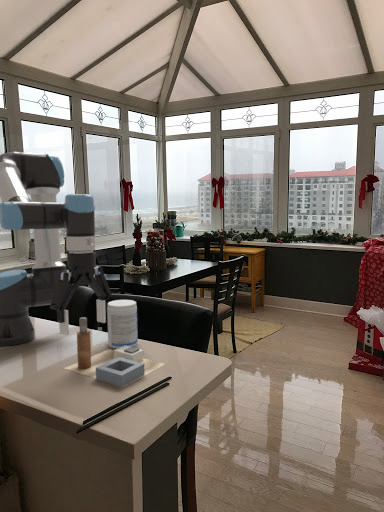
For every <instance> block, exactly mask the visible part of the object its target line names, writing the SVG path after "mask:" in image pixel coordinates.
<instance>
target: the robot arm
mask: <svg viewBox="0 0 384 512" xmlns="http://www.w3.org/2000/svg"><path fill="white" fill-rule="evenodd" d="M64 184H65V170H64V165H63V163H62V160H61V159H60V157H59V156H58V155H56V154H50V153H47V152H43V153H41V152H24V151H23V152H22V151H8V152H4V153H2V154H0V200H1V203H0V227H1V229H3V230H8V231H9V230H10V231H11V230H12V231H21V230H22V231H23V230H33V243H34V254H35V255H34V256H35V264H34V265H33V266H32V267H31V273H28V272H27V270H25V269H11V270H7V271H6V270H5V271H3V272H0V347H5V346H16V345H21V344H25V343H27V342H30V341H32V340H33V339H34V338H35V337H36V332H35V328H34V325H33V323H32V321H31V318H30V316H29V308H33V307H34V308H35V307H41V306H49V309H50V310H55V311H56V316H57V317H56V318H57V319H56V321H57V323H58V324H59V334H60V335H65V336H68V335H70V329H69V328H70V327H69V326H70V325H69V324H70V323H69V309H67V307H68V305H69V303H70V302H71V300H72V298H73V296H74V294H75V293H76V290H78V289H79V288H80V287H83V286H89V287H90V289H91V290H92V291H93V293H94V294H95V295H96V296H97V298H98V299H96V321H97V323H101V324H105V323H106V322H107V320H106V319H107V317H106V316H107V315H106V314H107V312H106V311H107V301H109V300H110V297H112V290H111V289H110V286H109V284H108V281H107V279H106V277H105V275H104V268H103V266H96V264H97V262H96V260H97V259H96V255H97V254H96V252H95V250H96V236H95V235H96V229H95V227H96V226H95V225H96V223H95V209H96V206H95V204H94V203H95V202H94V201H95V200H94V197H93V195H92V194H85V193H83V194H82V193H81V194H80V193H77V194H76V193H71V194H66V195H65V197H64V201H63V202H62V201H60V202H58V201H57V195H58V194H59V193H60V191H61V188H62V187H64V186H65V185H64ZM60 229H65V235H66V237H65V238H66V239H65V240H66V241H65V242H66V251H67V253H66V262H67V266H66V264H65V263H64V262H63V261H62V255H61V240H60ZM67 267H68V269H67Z"/></svg>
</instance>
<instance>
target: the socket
mask: <svg viewBox="0 0 384 512" xmlns="http://www.w3.org/2000/svg"><path fill="white" fill-rule="evenodd" d="M143 375H144V364H143V363H140V362H136V361H132V360H129V359H125V358H121V357H118V358H116V359H114V360H111V361H109V362H107V363H105V364H103V365H101V366H98V367H96V379H95V380H98V379H99V381H101V380H102V382H104V381H105V383H108V384H111V385H113V386H117V387H120V386H121V387H120V388H123V386H124V385H126V384H128V383H130V382H132V381H134V380H135V379H137V378H139V377H141V376H143ZM143 377H144V376H143ZM134 382H135V381H134Z"/></svg>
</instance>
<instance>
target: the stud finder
mask: <svg viewBox="0 0 384 512" xmlns="http://www.w3.org/2000/svg"><path fill="white" fill-rule="evenodd" d="M113 350H114V359H116V358H118V357H121V358H125V359H129V360H132V361H136V362H140V361H142V360H143V358H144V349H141V348H138V347H135V346H134V347H130V346H126V345H125V346H123V347H120V348H115V349H113Z"/></svg>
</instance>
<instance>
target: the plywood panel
mask: <svg viewBox="0 0 384 512" xmlns="http://www.w3.org/2000/svg"><path fill="white" fill-rule="evenodd" d="M114 350H115V349H110V348H109V349H106V350H103V351H101V352H99V353H97V354H94V355H91V367H90V368H88V369H79V368H78V361H77V362H75V363H72V364H71V365H67V366H65V367H63V369H64V370H67V371H69V372H70V371H71V372H73V373H78V374H80V375H83V376H87V377H88V378H92V379H95V380H99V379H96V367H98V366H101V365H103V364H105V363H107V362H109V361H111V360H114ZM140 363H143V364H144V375H143V376H141V377H139V378H137V379H135V380H134V381H132V382H130V383H128V384H126V385H124V386H123V387H121V386H119V387H120V388H125V387H127V386H129V385H131V384H132V383H134V382H136V381H138V380H140V379H142V378H143V377H145V376H147V375H149V374H150V373H152V372H154V371H156V370H158V369H159V368H161V367H163V366H165V365H166V363H164V362H161V361H160V362H159V361H156V360H151V359H148V358H144V357H143V360H142V361H140ZM99 381H102V380H99ZM102 382H105V381H102ZM105 383H106V382H105Z"/></svg>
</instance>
